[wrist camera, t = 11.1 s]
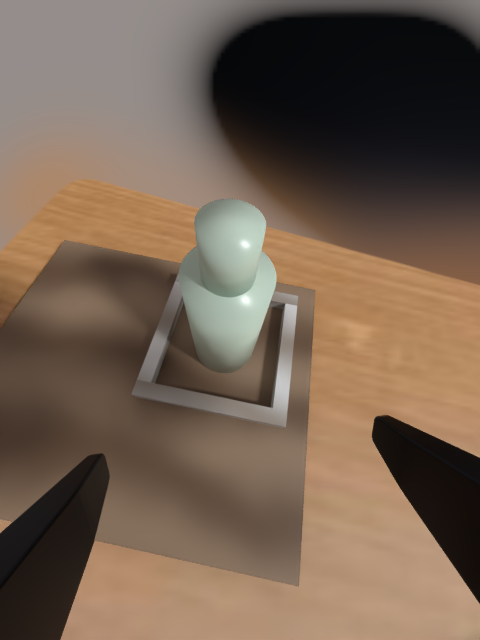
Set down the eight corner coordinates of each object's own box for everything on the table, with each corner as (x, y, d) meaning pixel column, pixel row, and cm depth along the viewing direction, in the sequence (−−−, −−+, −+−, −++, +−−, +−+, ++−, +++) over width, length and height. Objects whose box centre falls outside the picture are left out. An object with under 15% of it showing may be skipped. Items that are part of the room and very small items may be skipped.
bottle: (228, 385, 18) (241, 298, 7) (183, 348, 19) (137, 225, 9) (264, 341, 20) (315, 220, 9) (221, 309, 21) (222, 168, 10)
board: (293, 577, 14) (304, 596, 13) (-98, 489, 15) (-141, 495, 13) (311, 295, 24) (319, 283, 22) (70, 247, 24) (58, 232, 22)
